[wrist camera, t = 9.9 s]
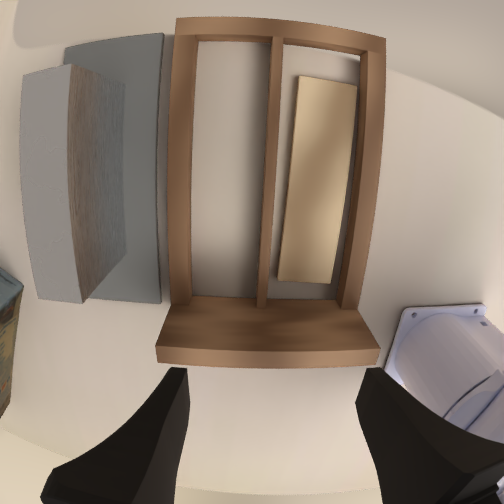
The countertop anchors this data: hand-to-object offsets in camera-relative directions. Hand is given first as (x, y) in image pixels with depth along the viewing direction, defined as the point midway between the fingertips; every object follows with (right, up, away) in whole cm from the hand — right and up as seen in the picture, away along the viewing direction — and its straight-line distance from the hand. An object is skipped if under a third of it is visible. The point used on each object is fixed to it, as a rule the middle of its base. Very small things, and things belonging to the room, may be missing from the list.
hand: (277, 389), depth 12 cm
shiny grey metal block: (-10, +11, +6) cm, 16 cm away
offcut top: (+3, +10, +8) cm, 13 cm away
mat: (-10, +11, +7) cm, 16 cm away
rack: (+1, +10, +7) cm, 13 cm away
